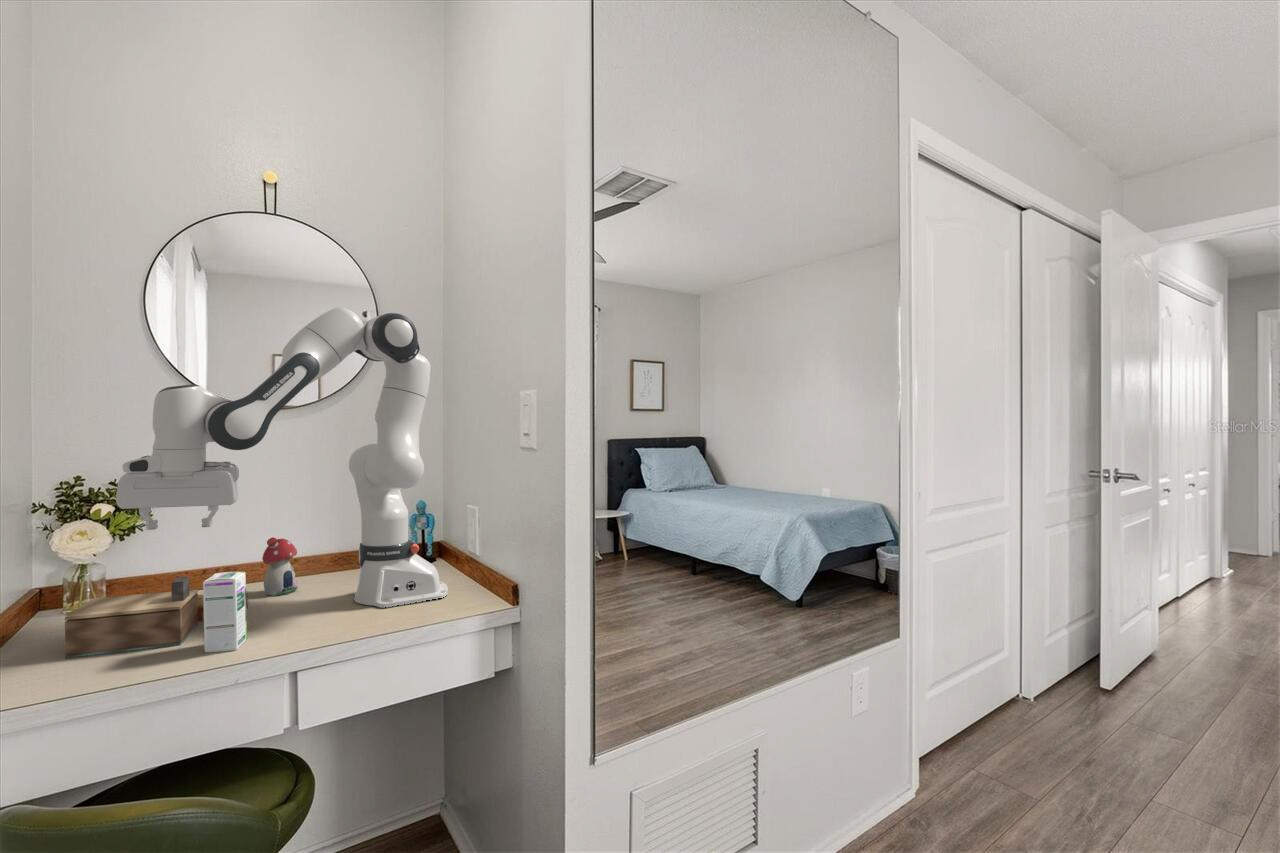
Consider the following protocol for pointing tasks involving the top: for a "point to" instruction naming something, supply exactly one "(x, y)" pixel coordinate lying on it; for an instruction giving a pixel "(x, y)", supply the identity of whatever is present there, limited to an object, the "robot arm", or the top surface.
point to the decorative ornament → (279, 567)
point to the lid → (137, 602)
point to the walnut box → (130, 631)
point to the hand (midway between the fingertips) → (179, 528)
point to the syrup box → (224, 611)
